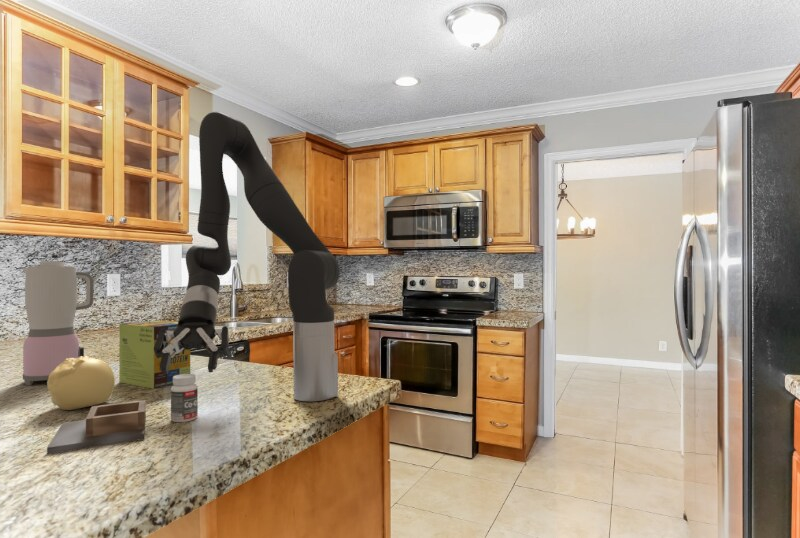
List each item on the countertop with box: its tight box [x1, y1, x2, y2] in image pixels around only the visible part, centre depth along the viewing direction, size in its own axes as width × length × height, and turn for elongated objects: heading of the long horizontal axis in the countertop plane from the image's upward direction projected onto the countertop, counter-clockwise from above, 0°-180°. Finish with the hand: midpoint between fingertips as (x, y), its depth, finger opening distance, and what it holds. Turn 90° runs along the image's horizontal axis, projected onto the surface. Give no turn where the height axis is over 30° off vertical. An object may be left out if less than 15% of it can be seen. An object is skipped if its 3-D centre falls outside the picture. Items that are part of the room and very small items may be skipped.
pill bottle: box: [170, 373, 199, 423], centre depth 91 cm, size 5×5×8 cm
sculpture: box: [46, 355, 116, 411], centre depth 100 cm, size 12×12×11 cm
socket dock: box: [46, 399, 147, 455], centre depth 82 cm, size 13×14×4 cm
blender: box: [21, 260, 95, 386], centre depth 127 cm, size 16×12×32 cm
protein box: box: [118, 320, 191, 390], centre depth 123 cm, size 10×15×16 cm
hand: (187, 371), depth 94 cm, fingers open, 8 cm apart
